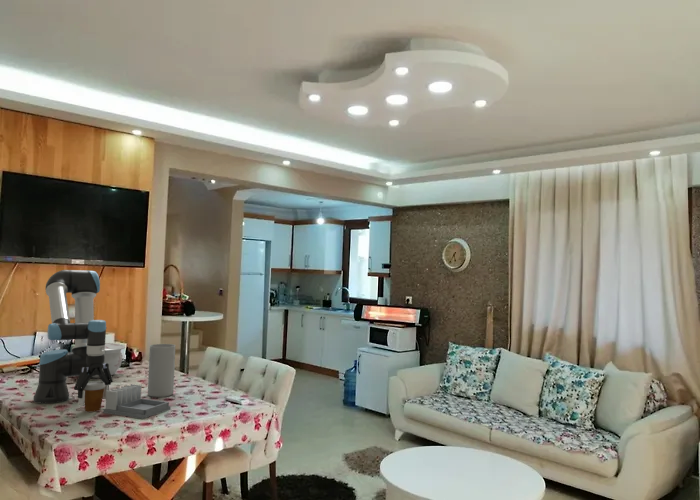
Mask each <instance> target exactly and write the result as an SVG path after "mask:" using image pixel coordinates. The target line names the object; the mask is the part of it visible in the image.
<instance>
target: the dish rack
mask: <svg viewBox="0 0 700 500" xmlns="http://www.w3.org/2000/svg"><path fill="white" fill-rule="evenodd" d="M142 387H143V386H142V385H141V384H133V383H130V384H129V385H127V384H126V385H125V386H121V387H116V389H115V388H111V390H106V399H105V406H104V408H103V410H102V413H104V414H111V415H116V416H121V415H122V417H129V418H135V419H140V418H141V420H143V419H146V417H147V418H149V416H150V417H152V416H155V415H157V414H161V413H163V412H166V411H169V410H171V405H169V404H170V402H169V401H162V400H156V399H147V398H142Z"/></svg>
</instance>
